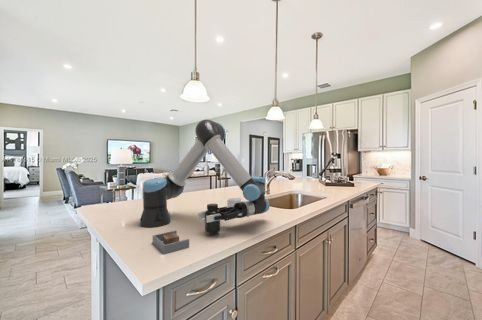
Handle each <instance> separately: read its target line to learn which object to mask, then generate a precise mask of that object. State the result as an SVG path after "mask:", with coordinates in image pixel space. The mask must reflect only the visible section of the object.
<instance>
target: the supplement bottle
mask: <svg viewBox="0 0 482 320" xmlns="http://www.w3.org/2000/svg"><path fill="white" fill-rule="evenodd" d="M218 208H219V205H218V204H217V203H209V204H207V205H206V209H207V210H205V211H206V212H205V218H204V231H205V232H206V233H207V234H217V233H219V232H220V231H221V219H220V220H218V221H213V222H208V223H207V222H206V216H209V215H214V214H220V211H219V210H217V209H218Z"/></svg>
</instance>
